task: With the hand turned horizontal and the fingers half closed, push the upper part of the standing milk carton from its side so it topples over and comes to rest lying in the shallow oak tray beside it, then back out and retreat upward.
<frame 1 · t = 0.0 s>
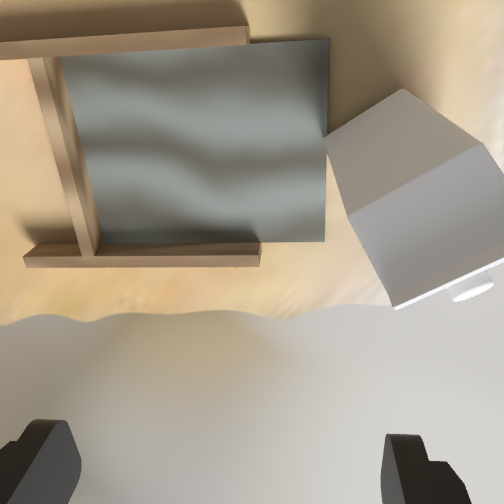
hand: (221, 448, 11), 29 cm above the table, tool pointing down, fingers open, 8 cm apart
milk carton: (380, 148, 35), on the table, touching tray
tray: (205, 154, 37), on the table
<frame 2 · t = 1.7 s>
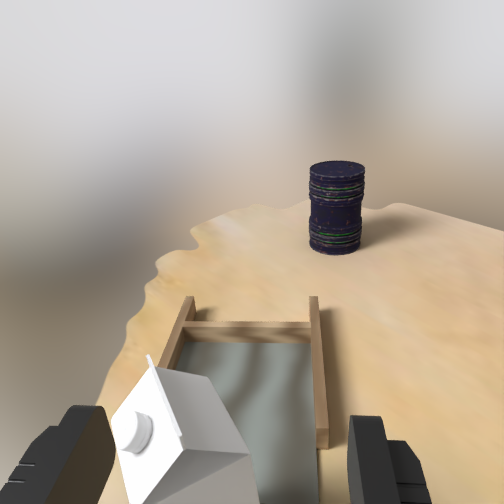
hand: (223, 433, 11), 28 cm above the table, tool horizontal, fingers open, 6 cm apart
tray: (237, 410, 47), on the table
dark blue barrel: (334, 244, 82), on the table
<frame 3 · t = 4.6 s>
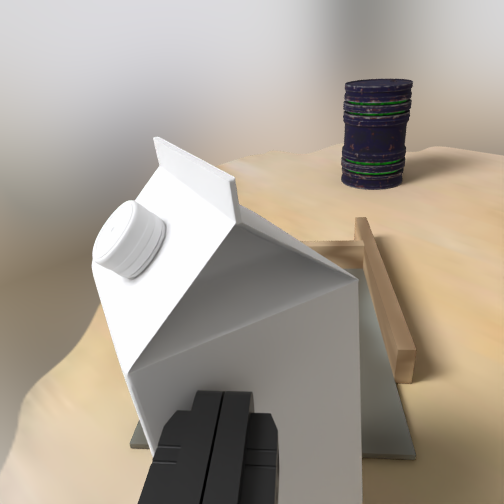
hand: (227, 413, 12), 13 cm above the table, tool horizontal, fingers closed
tray: (275, 340, 34), on the table
dark blue barrel: (371, 181, 69), on the table
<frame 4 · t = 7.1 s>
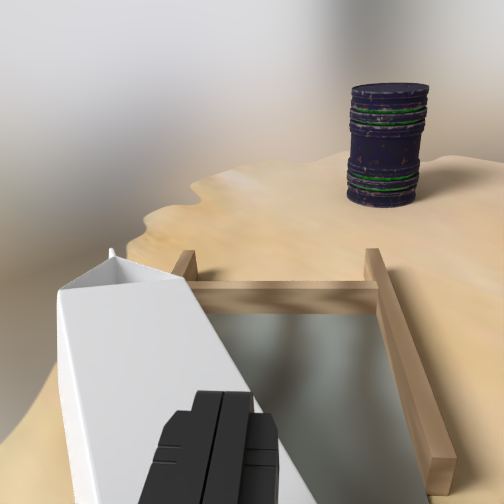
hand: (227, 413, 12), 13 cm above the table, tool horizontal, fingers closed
tray: (269, 419, 27), on the table
dark blue barrel: (380, 196, 62), on the table
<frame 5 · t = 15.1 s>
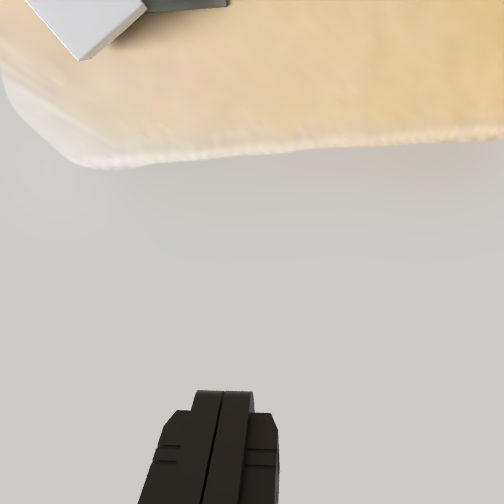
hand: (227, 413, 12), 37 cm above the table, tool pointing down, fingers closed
milk carton: (118, 37, 37), point 5 cm above the table, touching tray
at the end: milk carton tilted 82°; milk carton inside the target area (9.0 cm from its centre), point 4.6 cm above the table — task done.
